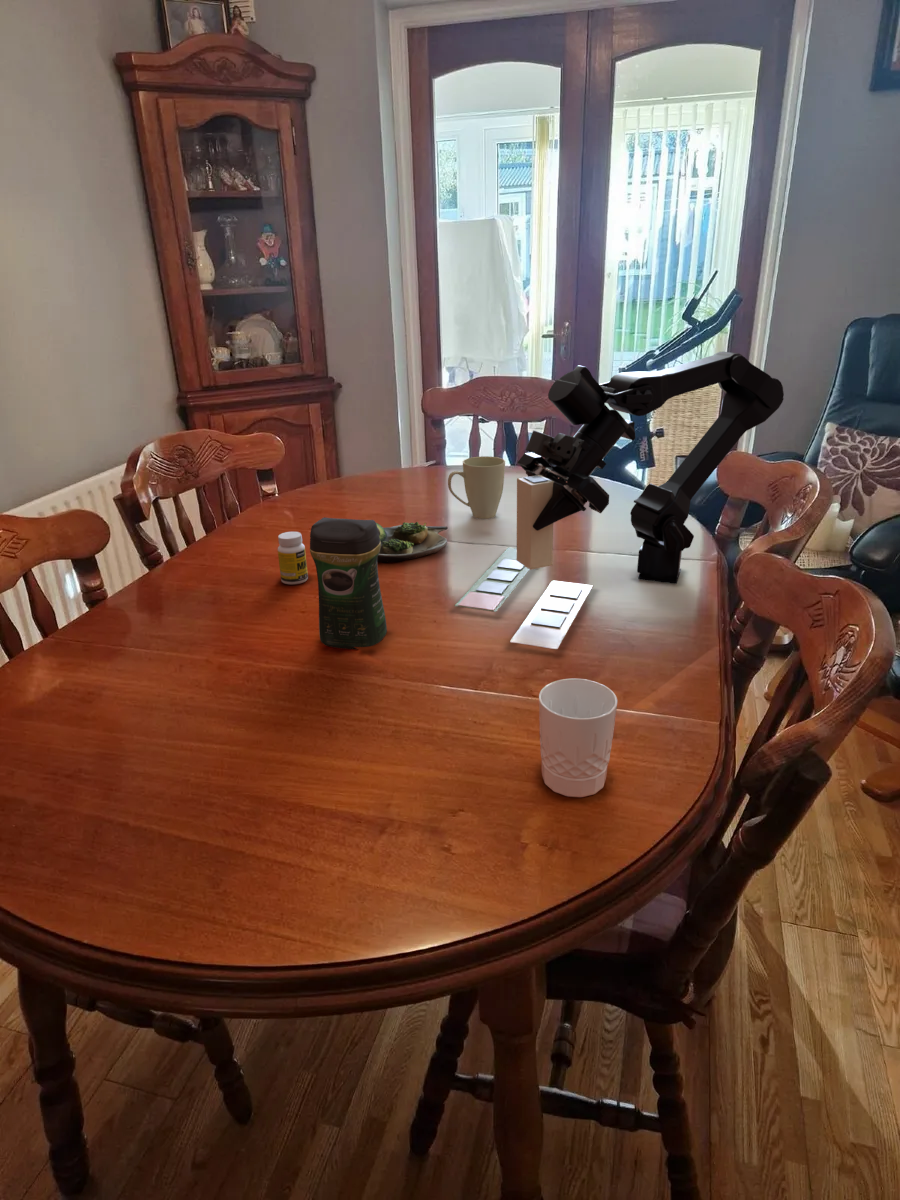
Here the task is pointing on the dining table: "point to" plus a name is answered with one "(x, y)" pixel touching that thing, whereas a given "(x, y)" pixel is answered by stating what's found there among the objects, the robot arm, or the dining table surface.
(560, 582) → the strip
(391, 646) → the dining table surface
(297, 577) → the supplement bottle
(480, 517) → the mug
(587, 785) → the white cup
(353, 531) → the coffee jar
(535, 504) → the cream tall square block
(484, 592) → the strip
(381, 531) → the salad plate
